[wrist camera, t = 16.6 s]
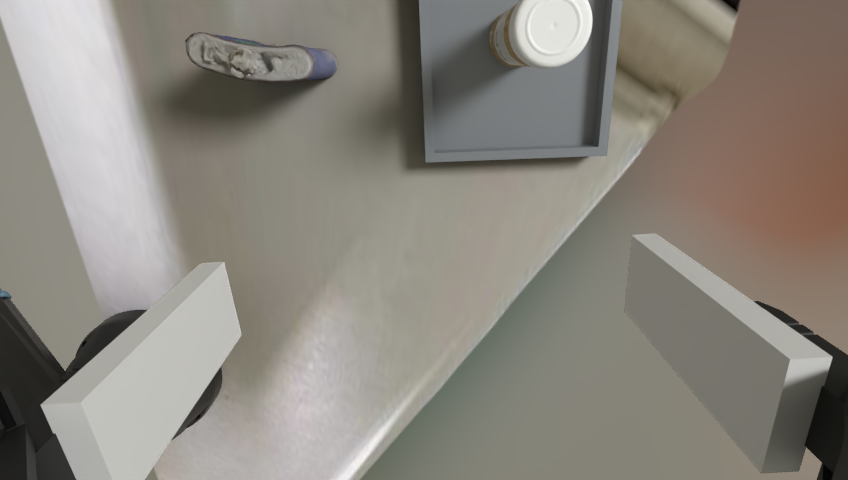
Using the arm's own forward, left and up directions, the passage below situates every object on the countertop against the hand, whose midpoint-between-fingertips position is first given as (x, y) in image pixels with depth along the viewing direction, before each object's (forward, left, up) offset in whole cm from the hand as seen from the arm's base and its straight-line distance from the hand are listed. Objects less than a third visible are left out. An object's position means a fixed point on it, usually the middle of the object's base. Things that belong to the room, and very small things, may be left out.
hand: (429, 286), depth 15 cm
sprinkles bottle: (+7, +8, -29) cm, 31 cm away
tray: (+7, +9, -30) cm, 32 cm away
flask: (-13, +8, -30) cm, 33 cm away
